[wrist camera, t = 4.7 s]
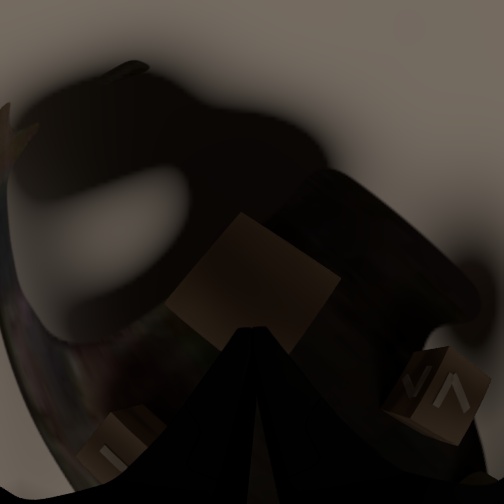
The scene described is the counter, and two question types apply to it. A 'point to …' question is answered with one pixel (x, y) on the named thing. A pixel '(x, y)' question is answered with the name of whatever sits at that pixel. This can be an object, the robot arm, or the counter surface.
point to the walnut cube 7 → (438, 394)
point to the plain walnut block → (252, 287)
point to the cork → (478, 479)
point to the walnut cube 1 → (120, 441)
